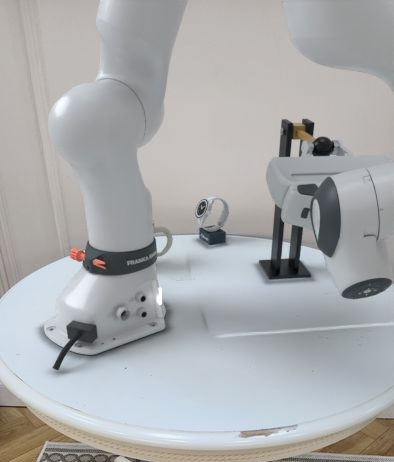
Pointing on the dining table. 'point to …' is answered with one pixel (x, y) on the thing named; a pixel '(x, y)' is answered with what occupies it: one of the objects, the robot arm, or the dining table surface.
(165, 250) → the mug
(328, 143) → the lever
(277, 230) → the stand
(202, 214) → the watch
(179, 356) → the dining table surface
